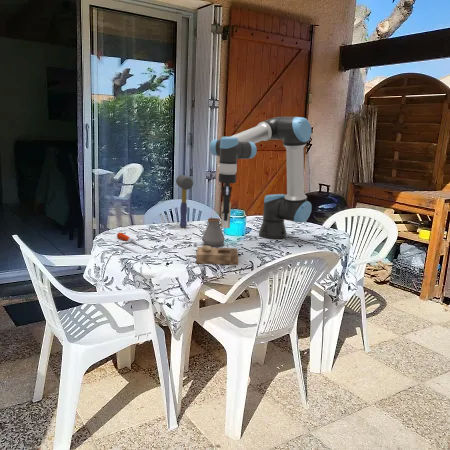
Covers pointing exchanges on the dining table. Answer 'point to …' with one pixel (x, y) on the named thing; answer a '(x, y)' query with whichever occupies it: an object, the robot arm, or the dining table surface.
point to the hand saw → (128, 240)
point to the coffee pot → (213, 233)
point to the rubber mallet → (184, 196)
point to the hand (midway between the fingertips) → (225, 226)
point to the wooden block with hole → (217, 255)
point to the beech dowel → (222, 214)
